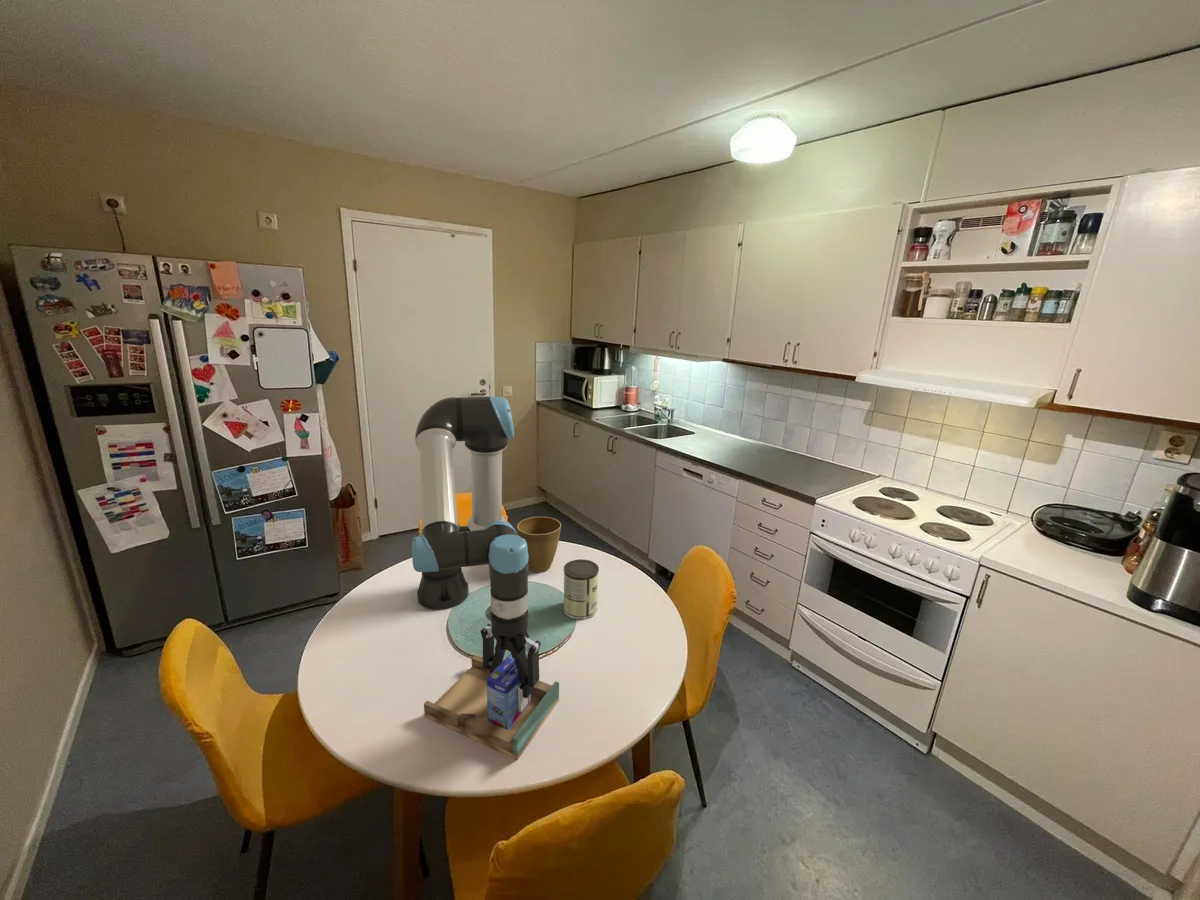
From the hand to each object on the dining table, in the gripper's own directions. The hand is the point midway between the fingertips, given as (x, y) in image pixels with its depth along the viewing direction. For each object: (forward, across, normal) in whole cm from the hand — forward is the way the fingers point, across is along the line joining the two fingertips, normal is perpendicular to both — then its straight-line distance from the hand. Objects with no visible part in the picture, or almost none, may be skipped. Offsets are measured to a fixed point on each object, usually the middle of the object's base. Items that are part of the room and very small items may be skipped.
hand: (511, 702), depth 105 cm
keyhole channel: (+4, -5, 0) cm, 6 cm away
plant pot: (+4, -28, +58) cm, 65 cm away
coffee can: (+4, -4, +43) cm, 43 cm away
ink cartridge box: (+3, 0, 0) cm, 3 cm away
